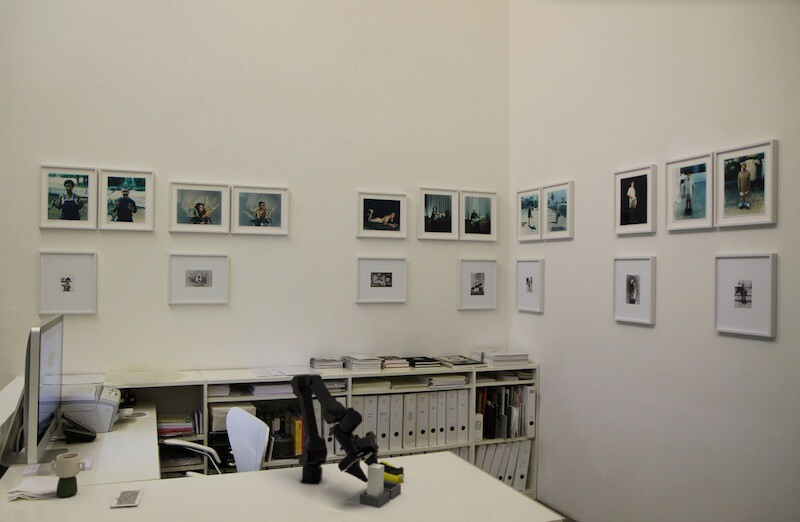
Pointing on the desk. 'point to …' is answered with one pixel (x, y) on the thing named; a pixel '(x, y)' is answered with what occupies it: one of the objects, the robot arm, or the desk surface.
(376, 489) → the plug
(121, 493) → the touchpad
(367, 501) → the board
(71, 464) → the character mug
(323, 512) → the desk surface
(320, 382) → the robot arm
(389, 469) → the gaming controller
